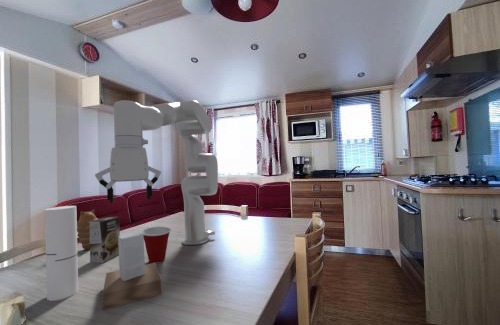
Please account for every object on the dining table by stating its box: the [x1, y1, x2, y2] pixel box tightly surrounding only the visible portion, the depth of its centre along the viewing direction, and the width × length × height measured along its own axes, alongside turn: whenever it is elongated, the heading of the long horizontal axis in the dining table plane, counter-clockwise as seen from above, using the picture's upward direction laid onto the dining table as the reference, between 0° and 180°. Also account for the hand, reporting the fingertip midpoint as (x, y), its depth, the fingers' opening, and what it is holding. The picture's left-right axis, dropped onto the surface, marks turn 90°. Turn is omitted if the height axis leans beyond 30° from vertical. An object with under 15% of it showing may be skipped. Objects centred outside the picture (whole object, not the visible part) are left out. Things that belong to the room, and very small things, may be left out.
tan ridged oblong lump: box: [77, 209, 99, 250], centre depth 107 cm, size 9×8×18 cm
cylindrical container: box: [44, 205, 79, 302], centre depth 68 cm, size 7×7×25 cm
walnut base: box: [102, 263, 163, 310], centre depth 68 cm, size 14×14×4 cm
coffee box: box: [89, 216, 121, 264], centre depth 95 cm, size 9×6×16 cm
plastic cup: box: [140, 225, 172, 264], centre depth 90 cm, size 11×11×12 cm
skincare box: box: [118, 231, 146, 281], centre depth 68 cm, size 6×4×12 cm
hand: (130, 200), depth 69 cm, fingers open, 9 cm apart
